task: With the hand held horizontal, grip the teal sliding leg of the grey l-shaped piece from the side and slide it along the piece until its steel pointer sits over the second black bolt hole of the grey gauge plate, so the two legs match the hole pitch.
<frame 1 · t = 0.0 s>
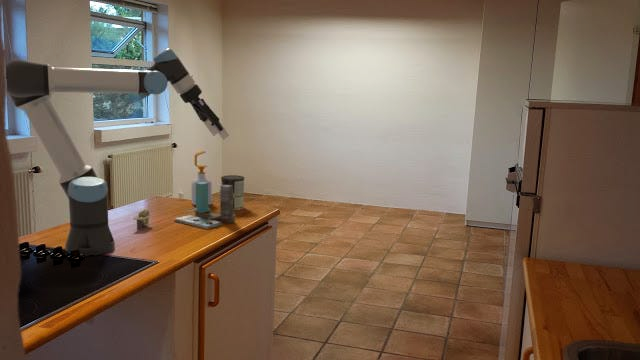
hand: (221, 135, 213), 36 cm above the worktop, tool tilted 35°, fingers open, 13 cm apart
soap bottle: (201, 204, 263), on the worktop
gauge plate: (198, 223, 226), on the worktop
coffee can: (232, 208, 256), on the worktop
grey l-shaped piece: (214, 219, 234), on the worktop
sliding leg: (195, 198, 234), point 8 cm above the worktop, slide at 0.0 cm
potted plant: (143, 228, 218), on the worktop
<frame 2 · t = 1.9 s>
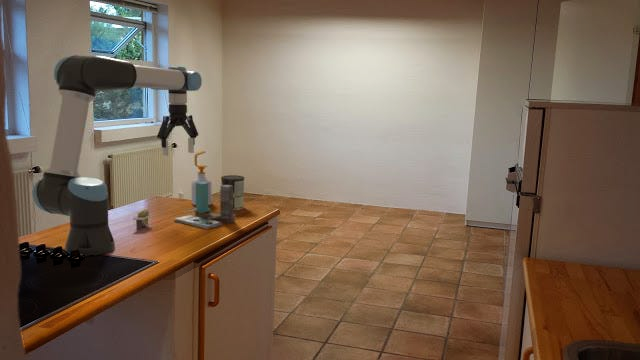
hand: (178, 154, 242), 25 cm above the worktop, tool pointing down, fingers open, 13 cm apart
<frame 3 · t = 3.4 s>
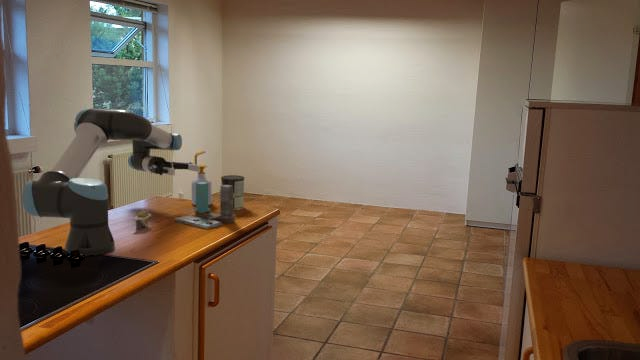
hand: (186, 170, 240), 19 cm above the worktop, tool horizontal, fingers open, 13 cm apart
nothing on the worktop moved.
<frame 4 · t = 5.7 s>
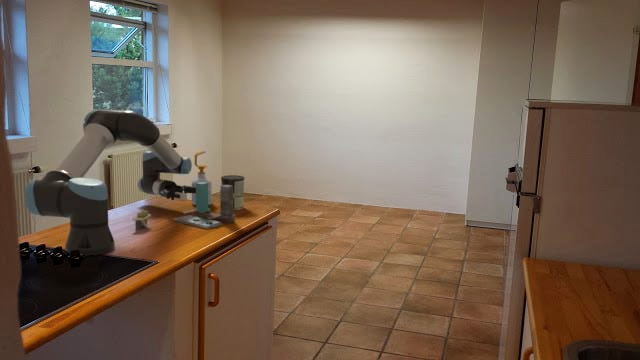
hand: (198, 195, 239), 9 cm above the worktop, tool horizontal, fingers open, 13 cm apart
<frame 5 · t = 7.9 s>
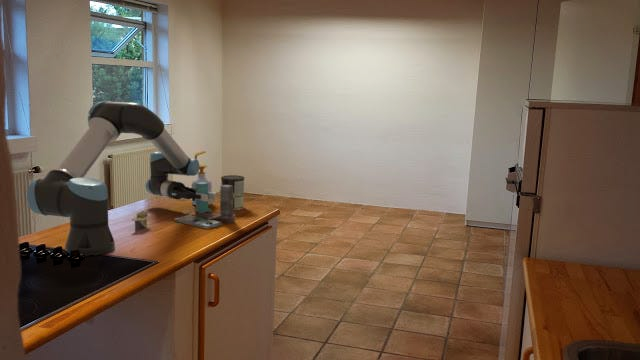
hand: (211, 197, 233), 9 cm above the worktop, tool horizontal, fingers closed on sliding leg, 4 cm apart
sliding leg: (195, 198, 234), point 8 cm above the worktop, slide at 0.0 cm, touching gripper
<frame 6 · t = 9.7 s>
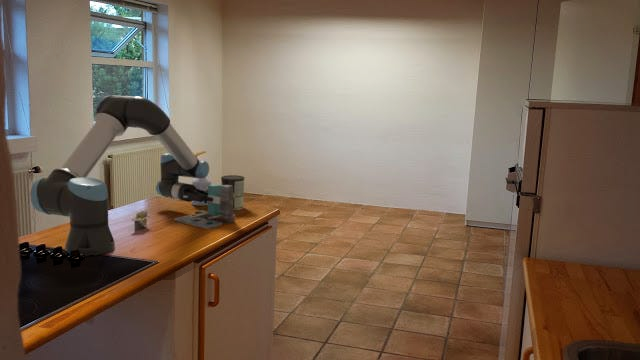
hand: (223, 199, 229), 9 cm above the worktop, tool horizontal, fingers closed on sliding leg, 4 cm apart
sliding leg: (207, 200, 229), point 8 cm above the worktop, slide at 7.2 cm, touching gripper
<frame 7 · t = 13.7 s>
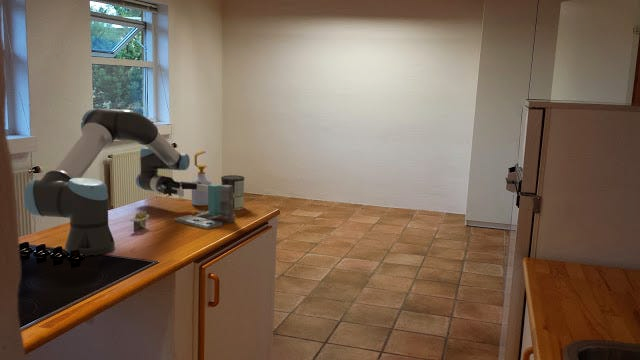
hand: (195, 190, 239), 10 cm above the worktop, tool horizontal, fingers open, 13 cm apart
sliding leg: (207, 200, 229), point 8 cm above the worktop, slide at 7.4 cm
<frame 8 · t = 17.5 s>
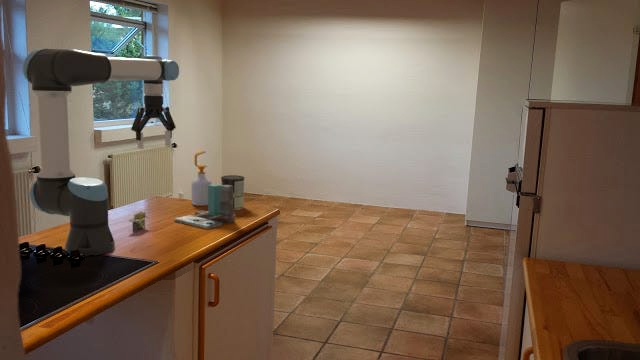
hand: (154, 147, 232), 29 cm above the worktop, tool pointing down, fingers open, 13 cm apart
at the end: sliding leg 0.4 cm from the target spot, resting on grey l-shaped piece; the gripper is holding nothing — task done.
